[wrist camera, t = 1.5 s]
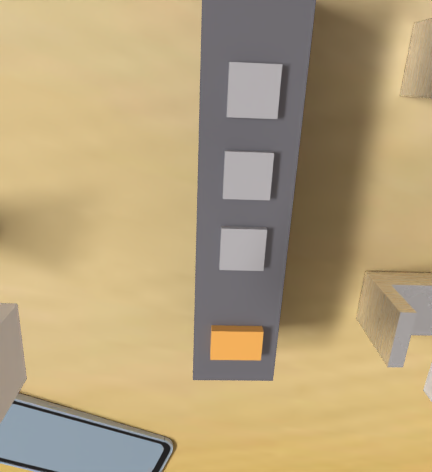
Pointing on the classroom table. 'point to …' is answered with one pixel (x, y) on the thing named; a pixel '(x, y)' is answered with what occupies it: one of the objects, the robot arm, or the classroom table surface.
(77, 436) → the smartphone
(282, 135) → the power strip
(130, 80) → the classroom table surface
